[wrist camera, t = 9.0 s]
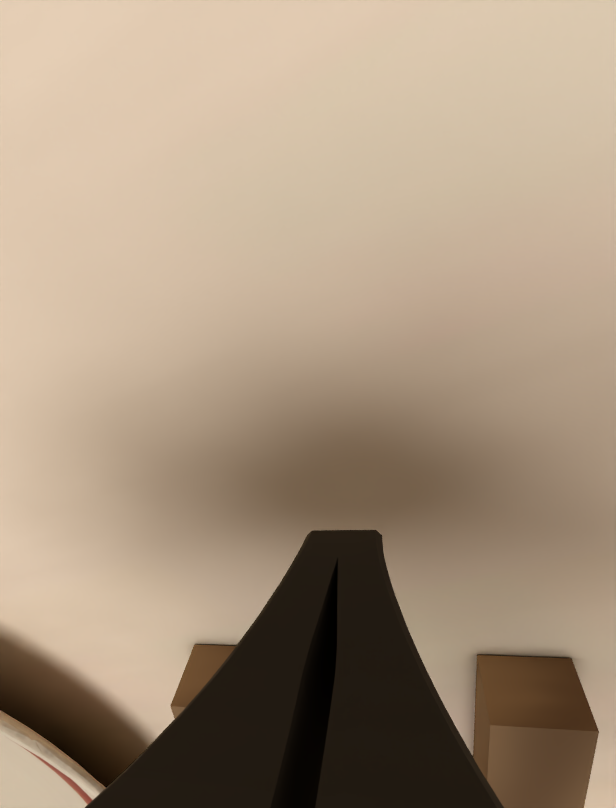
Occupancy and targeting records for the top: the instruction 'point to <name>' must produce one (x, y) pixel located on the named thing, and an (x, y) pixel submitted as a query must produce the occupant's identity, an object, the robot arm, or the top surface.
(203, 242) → the top surface
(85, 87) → the top surface
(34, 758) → the dinner plate
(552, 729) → the guide rails
